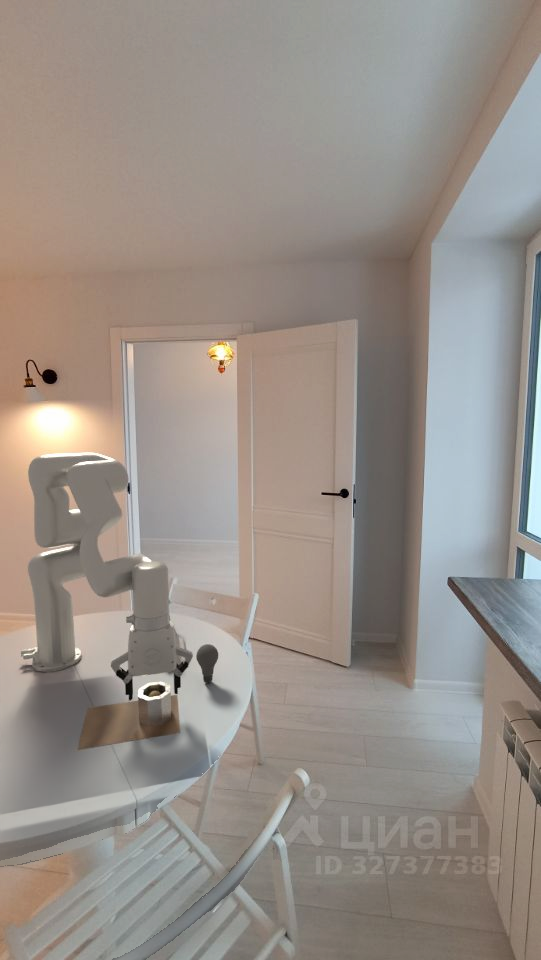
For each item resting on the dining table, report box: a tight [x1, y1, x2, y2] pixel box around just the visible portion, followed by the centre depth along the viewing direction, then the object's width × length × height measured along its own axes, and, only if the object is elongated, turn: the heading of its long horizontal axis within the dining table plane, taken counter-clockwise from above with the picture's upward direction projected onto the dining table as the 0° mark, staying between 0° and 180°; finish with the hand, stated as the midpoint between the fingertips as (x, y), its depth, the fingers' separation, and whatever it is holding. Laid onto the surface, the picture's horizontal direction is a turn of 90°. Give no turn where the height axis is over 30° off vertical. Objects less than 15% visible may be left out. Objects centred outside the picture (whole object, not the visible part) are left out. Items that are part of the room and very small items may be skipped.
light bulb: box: [196, 643, 219, 684], centre depth 115 cm, size 6×6×10 cm
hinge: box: [173, 625, 187, 665], centre depth 128 cm, size 17×5×10 cm, turn 14°
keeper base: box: [77, 691, 181, 751], centre depth 98 cm, size 20×14×7 cm
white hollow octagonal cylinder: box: [137, 681, 172, 727], centre depth 99 cm, size 7×7×6 cm
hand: (153, 693), depth 99 cm, fingers open, 9 cm apart
